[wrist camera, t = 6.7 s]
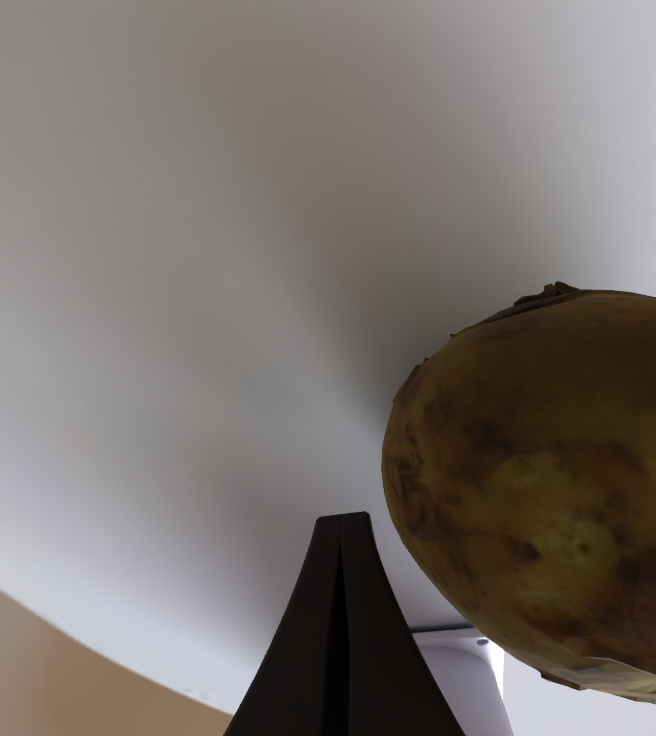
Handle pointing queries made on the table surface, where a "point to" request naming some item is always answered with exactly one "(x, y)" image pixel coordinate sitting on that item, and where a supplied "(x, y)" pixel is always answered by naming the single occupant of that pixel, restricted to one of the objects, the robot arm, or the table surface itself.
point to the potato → (540, 483)
